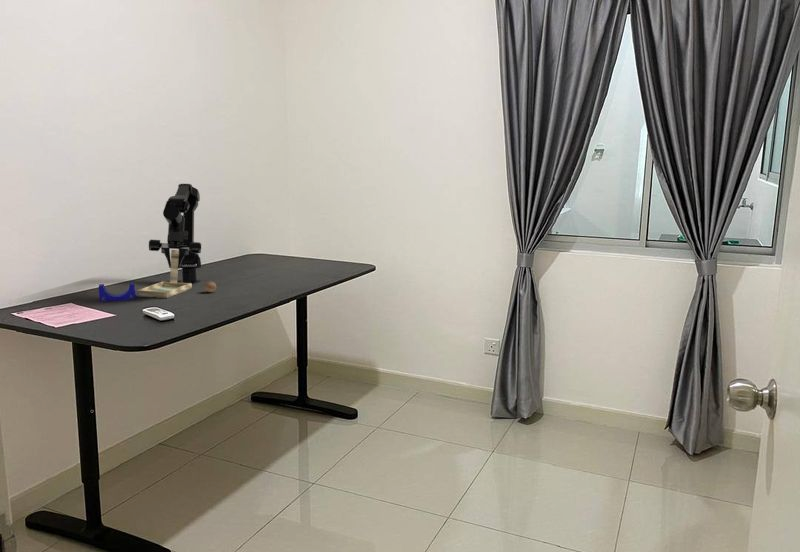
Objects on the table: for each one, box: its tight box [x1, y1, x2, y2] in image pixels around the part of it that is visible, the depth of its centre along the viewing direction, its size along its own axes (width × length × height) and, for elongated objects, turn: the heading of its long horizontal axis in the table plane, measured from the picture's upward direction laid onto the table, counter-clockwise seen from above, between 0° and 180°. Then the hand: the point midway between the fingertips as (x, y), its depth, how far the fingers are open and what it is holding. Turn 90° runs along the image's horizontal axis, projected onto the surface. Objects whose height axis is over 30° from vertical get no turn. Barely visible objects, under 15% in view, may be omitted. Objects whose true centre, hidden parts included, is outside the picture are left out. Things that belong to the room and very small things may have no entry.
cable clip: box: [98, 282, 137, 302], centre depth 239 cm, size 12×4×6 cm, turn 109°
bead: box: [204, 281, 217, 294], centre depth 254 cm, size 4×4×4 cm
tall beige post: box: [169, 249, 179, 283], centre depth 243 cm, size 3×3×13 cm
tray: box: [135, 281, 193, 299], centre depth 252 cm, size 18×13×2 cm
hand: (174, 268), depth 242 cm, fingers closed on tall beige post, 3 cm apart
